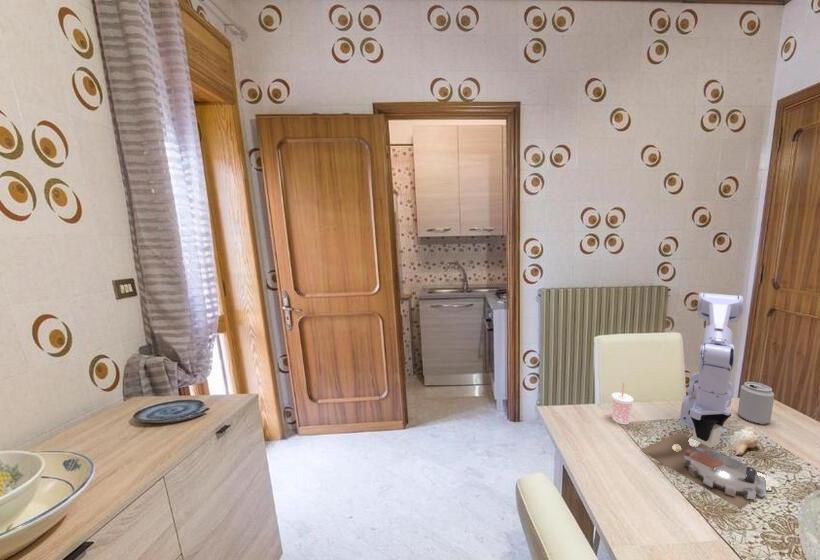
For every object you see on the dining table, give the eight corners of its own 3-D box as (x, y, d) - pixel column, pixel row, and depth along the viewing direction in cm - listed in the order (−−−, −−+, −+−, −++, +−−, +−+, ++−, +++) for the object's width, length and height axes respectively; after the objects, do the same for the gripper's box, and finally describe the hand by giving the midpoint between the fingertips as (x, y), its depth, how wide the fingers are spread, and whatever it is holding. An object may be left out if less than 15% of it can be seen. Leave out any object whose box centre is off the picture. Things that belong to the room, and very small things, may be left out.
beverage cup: (623, 429, 104) (626, 389, 102) (605, 419, 109) (608, 381, 107) (635, 424, 106) (638, 384, 104) (617, 414, 112) (620, 377, 110)
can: (735, 410, 112) (739, 378, 110) (766, 417, 108) (771, 383, 106) (740, 421, 106) (744, 387, 104) (773, 428, 102) (778, 393, 100)
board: (639, 451, 93) (640, 450, 93) (678, 433, 101) (678, 432, 100) (740, 511, 73) (740, 508, 73) (779, 483, 80) (779, 481, 80)
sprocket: (679, 447, 93) (681, 431, 92) (753, 467, 85) (756, 449, 84) (688, 482, 81) (690, 464, 80) (776, 509, 72) (779, 489, 71)
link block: (692, 438, 87) (694, 421, 86) (700, 434, 88) (702, 417, 87) (710, 447, 83) (713, 429, 82) (719, 443, 84) (721, 425, 84)
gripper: (716, 402, 77) (710, 453, 79) (747, 389, 82) (741, 437, 84) (682, 390, 83) (677, 437, 85) (713, 378, 89) (707, 423, 91)
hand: (706, 436), depth 85 cm, fingers closed on link block, 4 cm apart
